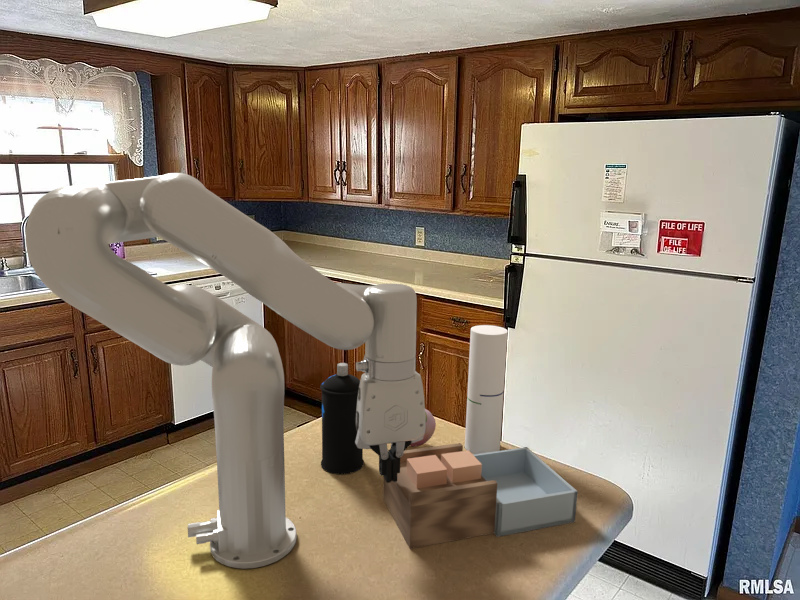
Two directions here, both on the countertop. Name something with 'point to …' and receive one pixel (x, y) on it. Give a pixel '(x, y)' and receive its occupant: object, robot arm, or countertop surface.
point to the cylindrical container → (485, 388)
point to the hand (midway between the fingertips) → (389, 477)
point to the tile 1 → (426, 471)
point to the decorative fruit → (427, 429)
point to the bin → (527, 492)
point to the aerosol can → (340, 423)
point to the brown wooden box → (440, 504)
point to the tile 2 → (461, 466)
